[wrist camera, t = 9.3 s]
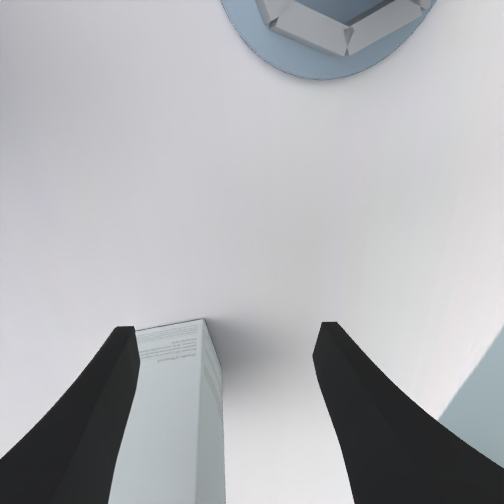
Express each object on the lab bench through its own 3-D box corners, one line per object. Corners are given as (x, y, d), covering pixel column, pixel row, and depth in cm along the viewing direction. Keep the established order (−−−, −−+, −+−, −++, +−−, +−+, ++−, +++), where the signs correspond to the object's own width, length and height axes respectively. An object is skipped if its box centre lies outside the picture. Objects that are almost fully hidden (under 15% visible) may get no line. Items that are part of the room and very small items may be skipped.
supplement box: (114, 333, 25) (41, 543, 14) (205, 316, 25) (200, 513, 14) (145, 386, 29) (106, 580, 18) (223, 371, 29) (229, 556, 18)
